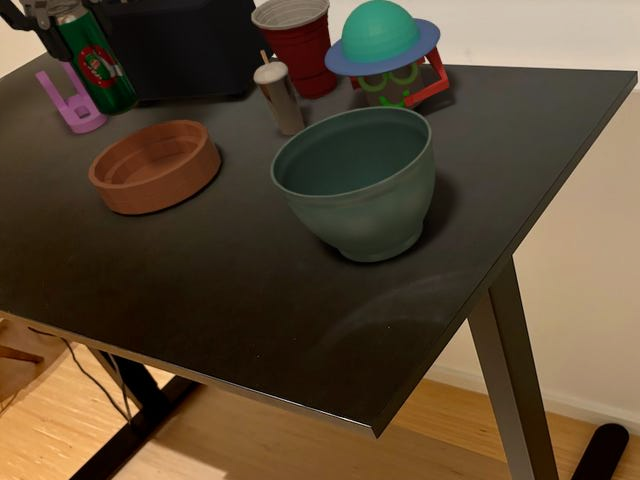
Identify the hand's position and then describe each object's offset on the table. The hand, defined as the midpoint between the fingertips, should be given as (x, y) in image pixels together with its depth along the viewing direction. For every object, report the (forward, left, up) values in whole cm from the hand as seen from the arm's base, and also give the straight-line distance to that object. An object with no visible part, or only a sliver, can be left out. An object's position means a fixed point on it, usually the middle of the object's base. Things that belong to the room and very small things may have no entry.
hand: (86, 48), depth 83 cm
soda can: (0, 0, -8) cm, 8 cm away
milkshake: (+16, -9, -18) cm, 26 cm away
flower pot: (+1, -37, -18) cm, 41 cm away
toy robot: (+24, -22, -18) cm, 37 cm away
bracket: (+9, +32, -18) cm, 38 cm away
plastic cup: (+26, -5, -18) cm, 32 cm away
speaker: (+22, +17, -18) cm, 33 cm away
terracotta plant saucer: (0, 0, -18) cm, 18 cm away
